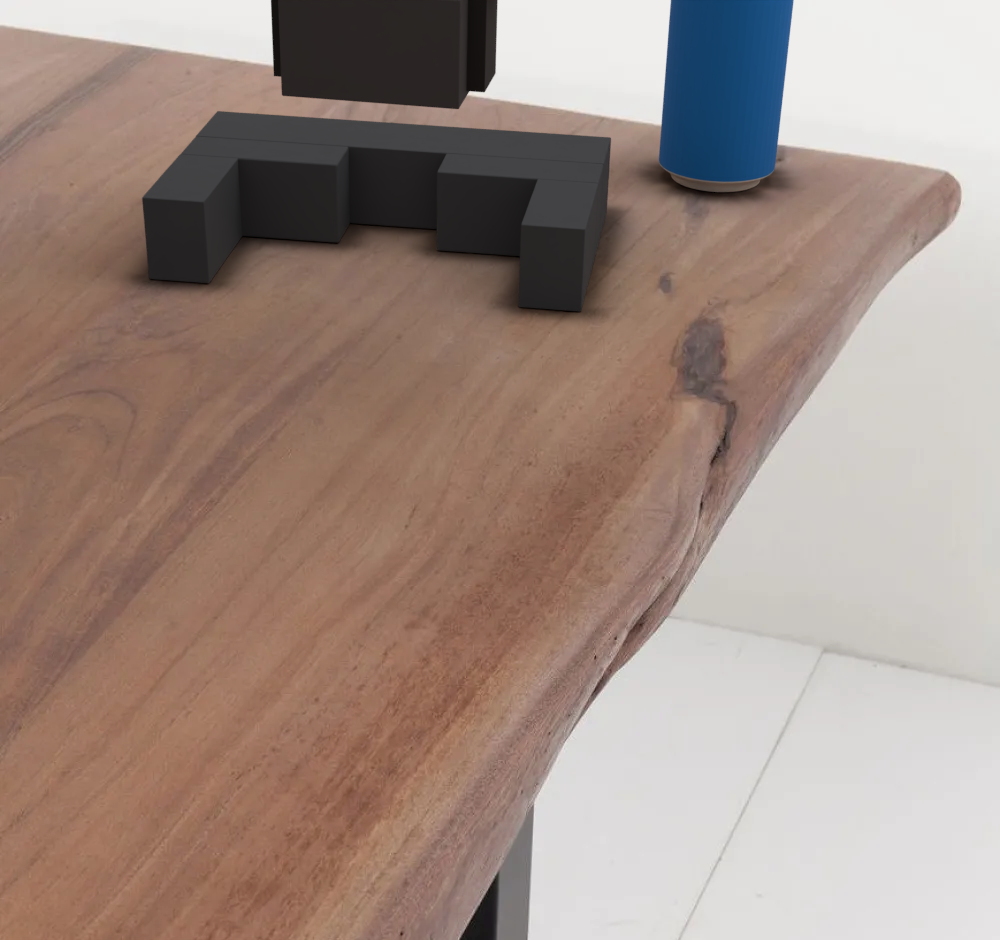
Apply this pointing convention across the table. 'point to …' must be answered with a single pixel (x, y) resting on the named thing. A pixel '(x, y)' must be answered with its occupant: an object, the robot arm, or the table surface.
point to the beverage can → (724, 91)
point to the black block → (375, 51)
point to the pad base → (384, 194)
